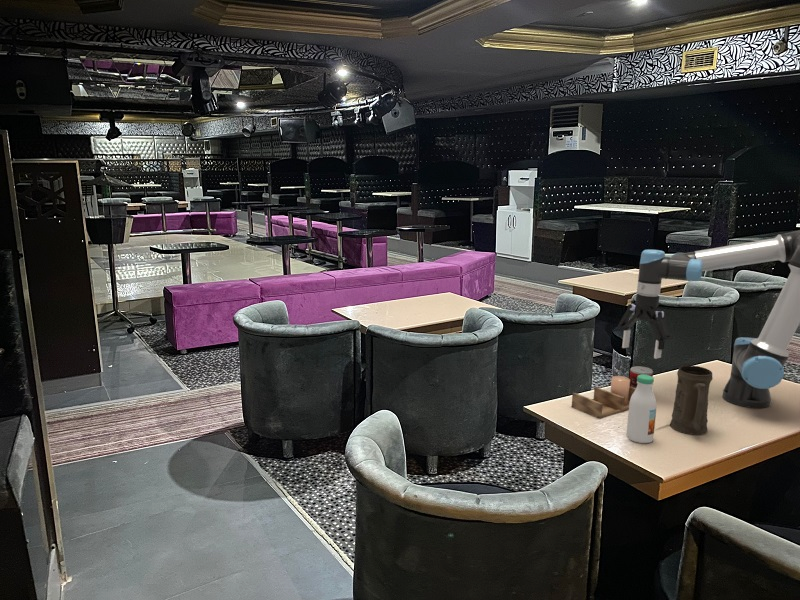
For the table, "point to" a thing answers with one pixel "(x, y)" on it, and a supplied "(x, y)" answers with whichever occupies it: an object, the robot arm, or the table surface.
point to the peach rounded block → (621, 387)
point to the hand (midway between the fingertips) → (640, 352)
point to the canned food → (638, 371)
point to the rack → (601, 403)
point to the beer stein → (691, 400)
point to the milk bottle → (642, 411)
